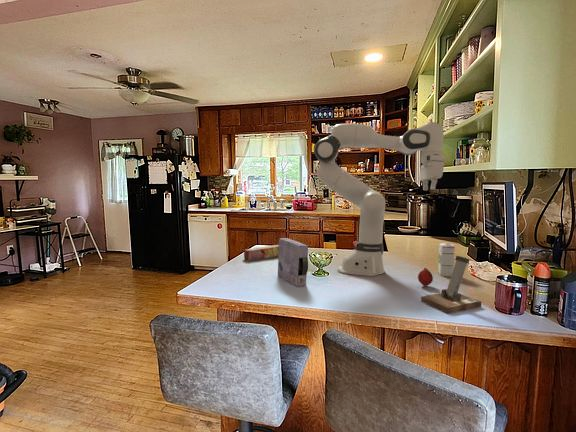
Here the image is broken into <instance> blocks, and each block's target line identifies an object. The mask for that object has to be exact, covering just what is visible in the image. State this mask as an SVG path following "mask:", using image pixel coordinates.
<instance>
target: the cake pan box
mask: <svg viewBox="0 0 576 432" xmlns="http://www.w3.org/2000/svg"><path fill="white" fill-rule="evenodd" d="M278 245H279V254H278V257H277V258H278V260H277V276H278V277H279V278H282V279H283V280H284V281H286V282H288V283H291V284H293V285H294V286H295V287H297V288H299V287H305V286H307V277H308V276H307V275H308V271H309V259H308V256H309V254H308V253H309V245H307V244H304V243H301V242H299V241H297V240H293V239H291V238H288V237H281V238H280V237H279V239H278Z"/></svg>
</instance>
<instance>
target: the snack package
mask: <svg viewBox="0 0 576 432" xmlns="http://www.w3.org/2000/svg"><path fill="white" fill-rule="evenodd" d="M278 254H279V244H273V245H267V246H260V247H254V248H253V247H252V248H246V249H244V252H243V258H244V260H245V261H248V262H250V261H258V260H264V259H271V258H278Z"/></svg>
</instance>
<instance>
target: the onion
mask: <svg viewBox="0 0 576 432" xmlns="http://www.w3.org/2000/svg"><path fill="white" fill-rule="evenodd" d="M433 279H434V277H433V274H432V272H431V271H430V270H429V269H428V268H427V267H424V268H423V270H421V271H419V273H418V275H417V280H418V282H419V283H420V284H421V285H422V286H423V287H427V286H429V285H431V284H432V282H433V281H434V280H433Z"/></svg>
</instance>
